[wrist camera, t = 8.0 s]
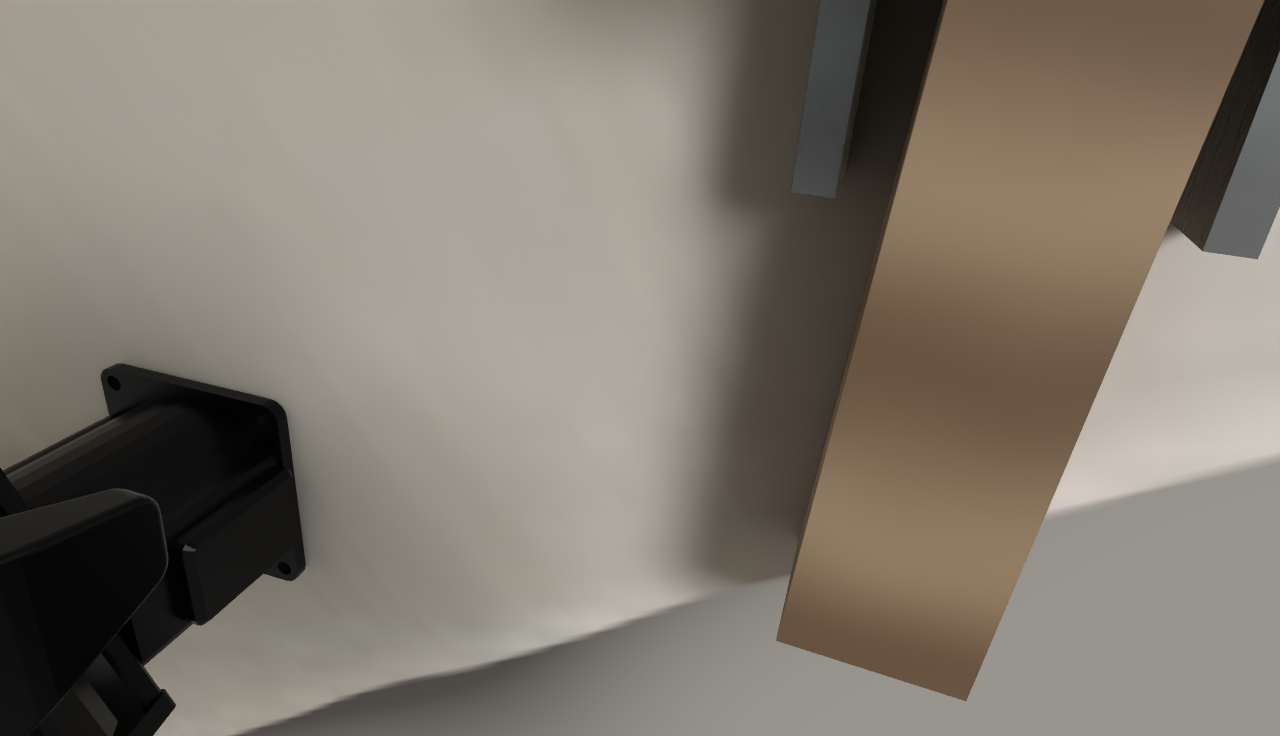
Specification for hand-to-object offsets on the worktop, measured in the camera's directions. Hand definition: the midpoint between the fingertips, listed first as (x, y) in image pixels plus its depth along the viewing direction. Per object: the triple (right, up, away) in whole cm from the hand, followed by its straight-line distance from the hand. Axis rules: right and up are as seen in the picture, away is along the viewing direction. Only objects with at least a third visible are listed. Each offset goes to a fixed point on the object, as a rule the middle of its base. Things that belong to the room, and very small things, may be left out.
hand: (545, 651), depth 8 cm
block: (+8, +4, +10) cm, 13 cm away
